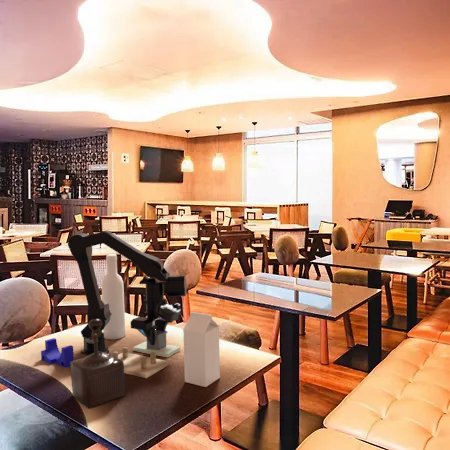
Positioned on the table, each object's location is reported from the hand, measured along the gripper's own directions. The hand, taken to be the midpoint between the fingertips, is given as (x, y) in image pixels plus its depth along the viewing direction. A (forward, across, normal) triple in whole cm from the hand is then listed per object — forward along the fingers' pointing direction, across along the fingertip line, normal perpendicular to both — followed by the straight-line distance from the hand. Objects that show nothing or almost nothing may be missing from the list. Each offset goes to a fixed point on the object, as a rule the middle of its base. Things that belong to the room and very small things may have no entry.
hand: (156, 342), depth 150 cm
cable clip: (+3, -22, +22) cm, 31 cm away
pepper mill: (+3, -32, -4) cm, 32 cm away
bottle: (+3, +5, +23) cm, 24 cm away
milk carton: (+3, -13, -26) cm, 29 cm away
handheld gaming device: (+3, +17, +16) cm, 24 cm away
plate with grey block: (+3, 0, 0) cm, 3 cm away
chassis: (+2, -14, -2) cm, 14 cm away
